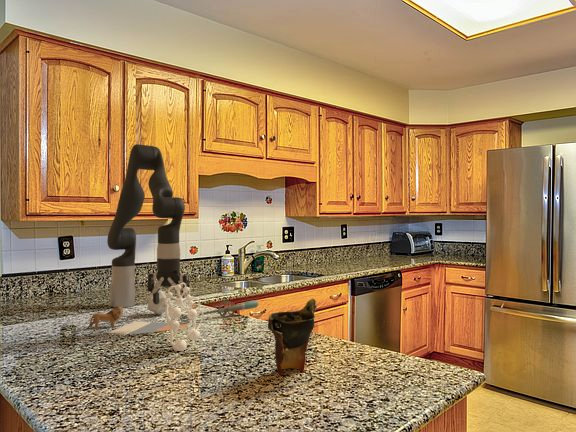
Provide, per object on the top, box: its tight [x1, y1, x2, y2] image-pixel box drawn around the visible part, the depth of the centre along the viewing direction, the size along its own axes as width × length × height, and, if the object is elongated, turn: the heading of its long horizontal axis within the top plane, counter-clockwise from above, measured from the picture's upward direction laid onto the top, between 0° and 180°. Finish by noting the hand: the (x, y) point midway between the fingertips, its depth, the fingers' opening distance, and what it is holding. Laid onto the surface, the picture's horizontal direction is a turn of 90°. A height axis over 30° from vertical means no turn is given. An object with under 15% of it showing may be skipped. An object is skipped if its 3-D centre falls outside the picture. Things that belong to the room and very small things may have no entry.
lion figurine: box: [86, 306, 124, 330], centre depth 160 cm, size 12×4×7 cm, turn 120°
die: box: [146, 289, 172, 316], centre depth 180 cm, size 8×9×10 cm
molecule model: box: [164, 282, 205, 352], centre depth 133 cm, size 19×14×4 cm
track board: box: [89, 319, 189, 335], centre depth 159 cm, size 28×16×1 cm, turn 78°
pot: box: [267, 298, 317, 376], centre depth 113 cm, size 17×11×18 cm, turn 141°
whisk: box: [179, 299, 259, 323], centre depth 176 cm, size 11×32×7 cm, turn 123°
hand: (168, 304), depth 157 cm, fingers open, 8 cm apart
